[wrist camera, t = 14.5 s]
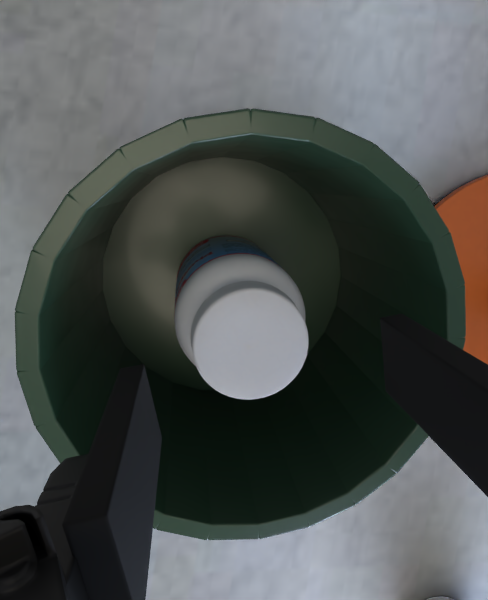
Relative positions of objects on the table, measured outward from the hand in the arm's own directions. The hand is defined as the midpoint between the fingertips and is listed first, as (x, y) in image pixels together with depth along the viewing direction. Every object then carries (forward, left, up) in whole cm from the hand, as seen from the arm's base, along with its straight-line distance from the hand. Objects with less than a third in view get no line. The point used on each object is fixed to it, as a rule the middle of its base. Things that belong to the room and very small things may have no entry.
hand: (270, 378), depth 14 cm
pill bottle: (0, 0, -14) cm, 14 cm away
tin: (0, 0, -14) cm, 14 cm away
